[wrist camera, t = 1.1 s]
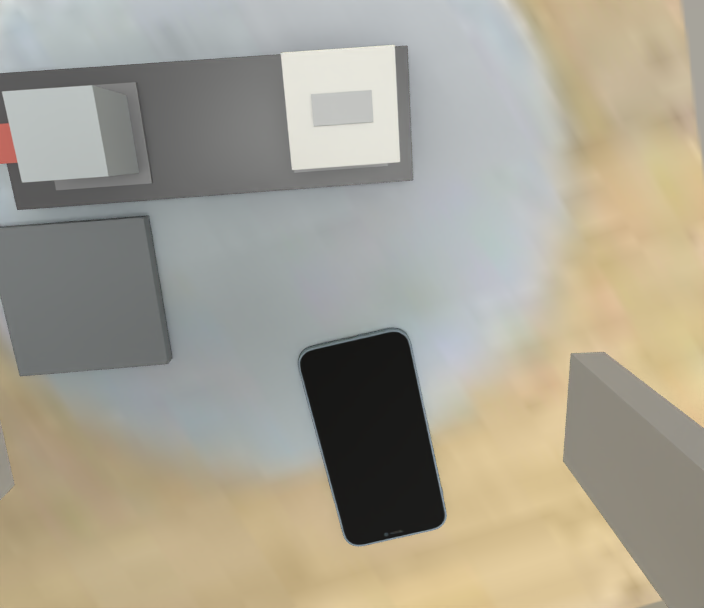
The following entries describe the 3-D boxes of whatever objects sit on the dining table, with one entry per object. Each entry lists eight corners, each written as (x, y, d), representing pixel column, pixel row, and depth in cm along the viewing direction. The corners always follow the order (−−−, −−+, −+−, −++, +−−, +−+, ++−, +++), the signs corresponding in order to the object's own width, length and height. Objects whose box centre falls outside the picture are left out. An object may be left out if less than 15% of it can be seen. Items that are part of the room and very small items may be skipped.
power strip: (-37, 212, 33) (-62, 216, 30) (-69, 83, 31) (-98, 78, 29) (408, 178, 33) (414, 180, 31) (402, 51, 31) (408, 44, 29)
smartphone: (408, 325, 35) (450, 526, 39) (406, 321, 36) (447, 518, 40) (293, 352, 35) (346, 549, 39) (294, 347, 36) (346, 541, 40)
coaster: (28, 370, 35) (20, 376, 34) (-6, 227, 33) (-16, 229, 32) (172, 358, 36) (167, 363, 35) (148, 215, 33) (143, 217, 32)
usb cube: (64, 178, 30) (22, 182, 26) (49, 100, 29) (1, 91, 25) (139, 172, 31) (108, 176, 26) (126, 95, 30) (92, 85, 25)
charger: (300, 165, 31) (291, 170, 23) (291, 78, 30) (279, 50, 22) (381, 159, 31) (401, 162, 23) (376, 72, 30) (395, 42, 22)
